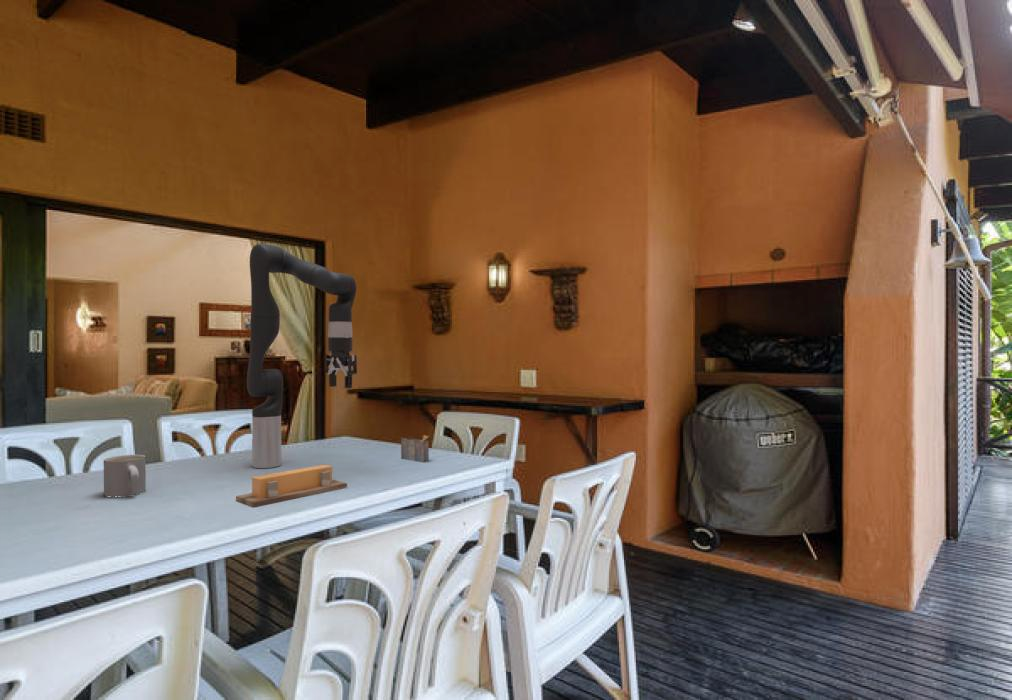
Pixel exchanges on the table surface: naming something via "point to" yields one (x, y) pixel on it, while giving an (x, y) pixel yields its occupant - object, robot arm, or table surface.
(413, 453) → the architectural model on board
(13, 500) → the table surface
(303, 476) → the orange wooden bar
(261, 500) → the brown wooden bar holder
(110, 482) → the coffee mug
